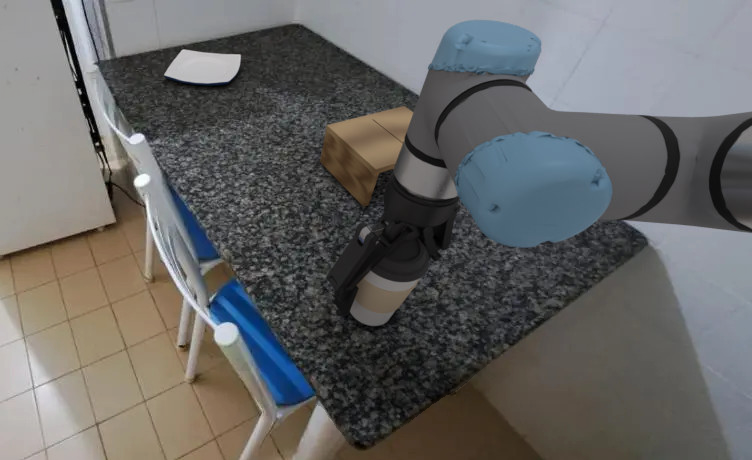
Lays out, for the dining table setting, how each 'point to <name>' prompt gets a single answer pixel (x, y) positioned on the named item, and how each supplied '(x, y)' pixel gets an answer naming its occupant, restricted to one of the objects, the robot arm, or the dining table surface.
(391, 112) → the board
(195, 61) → the plate
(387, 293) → the coffee cup
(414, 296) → the dining table surface
